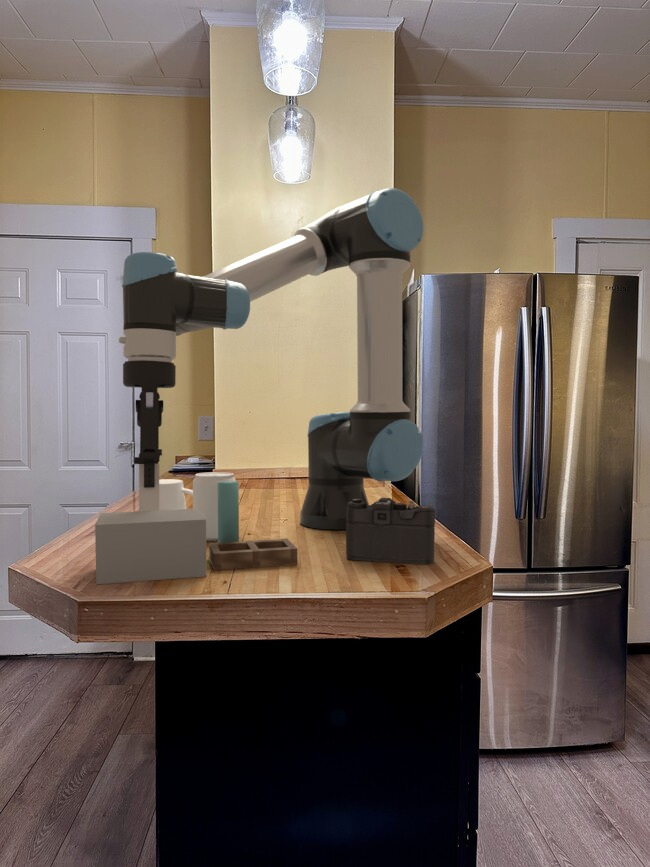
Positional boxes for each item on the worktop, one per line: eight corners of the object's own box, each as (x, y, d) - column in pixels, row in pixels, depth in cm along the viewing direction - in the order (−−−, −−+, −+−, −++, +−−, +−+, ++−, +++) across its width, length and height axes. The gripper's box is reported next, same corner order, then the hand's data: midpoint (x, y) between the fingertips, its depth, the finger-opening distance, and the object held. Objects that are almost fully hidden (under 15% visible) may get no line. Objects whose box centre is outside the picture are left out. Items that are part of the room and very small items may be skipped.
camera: (435, 550, 108) (436, 493, 107) (434, 566, 97) (434, 503, 97) (354, 547, 111) (354, 491, 110) (343, 562, 100) (343, 500, 100)
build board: (287, 553, 105) (287, 538, 105) (297, 564, 98) (297, 548, 98) (209, 558, 102) (209, 543, 102) (213, 570, 95) (213, 553, 95)
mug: (133, 483, 125) (146, 478, 132) (134, 530, 125) (147, 522, 133) (192, 484, 124) (202, 479, 132) (193, 530, 124) (203, 523, 132)
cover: (201, 560, 101) (200, 508, 100) (206, 576, 91) (205, 519, 91) (101, 566, 97) (100, 512, 96) (96, 584, 87) (95, 524, 87)
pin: (237, 549, 108) (237, 480, 108) (240, 554, 105) (239, 483, 104) (217, 550, 107) (216, 481, 107) (219, 555, 104) (218, 483, 103)
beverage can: (227, 542, 113) (227, 477, 113) (186, 540, 115) (185, 476, 115) (242, 533, 121) (242, 472, 121) (203, 532, 123) (202, 471, 122)
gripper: (126, 365, 103) (126, 492, 104) (118, 352, 79) (118, 518, 80) (172, 366, 105) (172, 491, 106) (179, 354, 81) (178, 516, 82)
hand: (149, 503), depth 93 cm, fingers open, 13 cm apart
